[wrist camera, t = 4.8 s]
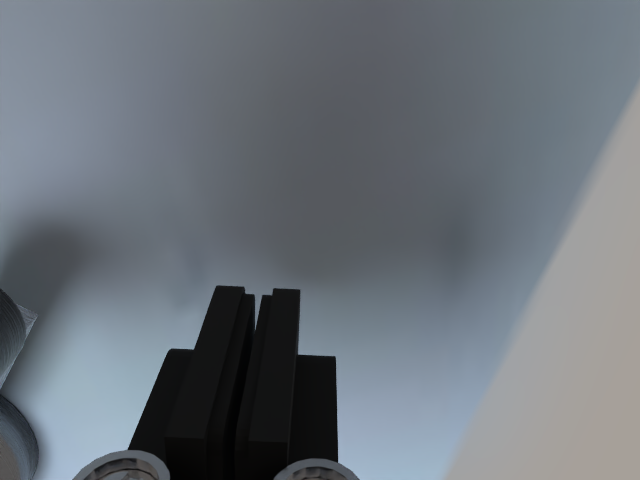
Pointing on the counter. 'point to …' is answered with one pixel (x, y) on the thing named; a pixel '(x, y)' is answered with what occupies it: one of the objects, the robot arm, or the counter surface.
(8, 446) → the crank base
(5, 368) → the crank
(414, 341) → the counter surface
